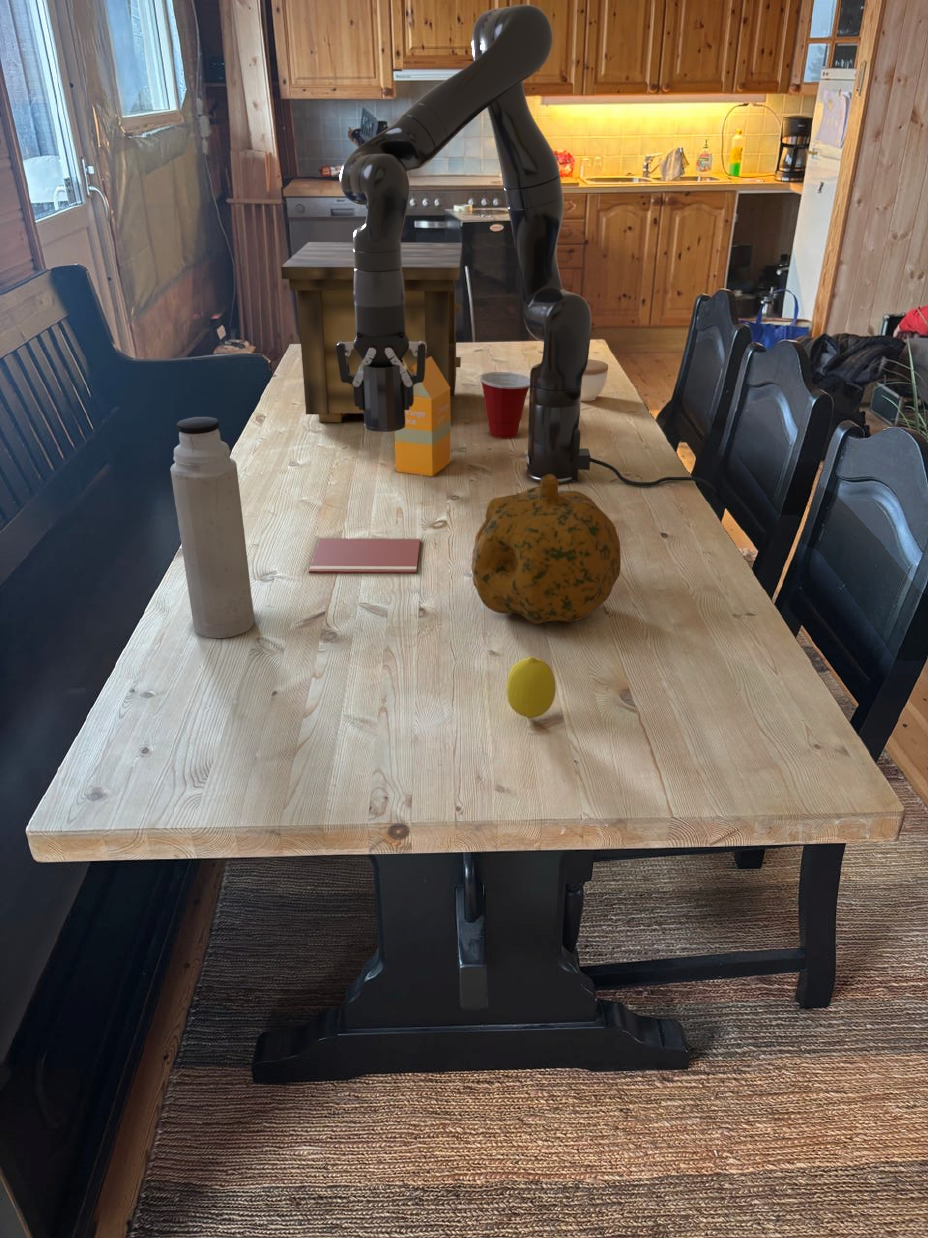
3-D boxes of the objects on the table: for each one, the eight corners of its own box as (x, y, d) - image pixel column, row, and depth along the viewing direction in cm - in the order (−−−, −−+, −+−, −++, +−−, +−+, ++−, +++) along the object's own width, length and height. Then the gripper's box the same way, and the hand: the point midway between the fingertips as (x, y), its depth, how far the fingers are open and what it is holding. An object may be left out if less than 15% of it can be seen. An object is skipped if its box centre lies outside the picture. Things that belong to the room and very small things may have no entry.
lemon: (502, 705, 115) (504, 646, 111) (549, 703, 115) (552, 644, 111) (508, 732, 110) (510, 671, 106) (557, 730, 110) (561, 669, 106)
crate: (318, 384, 239) (308, 242, 224) (461, 385, 239) (461, 242, 223) (294, 428, 208) (281, 266, 193) (459, 429, 208) (459, 267, 192)
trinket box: (550, 397, 230) (552, 356, 225) (580, 388, 236) (583, 349, 232) (585, 406, 223) (587, 365, 218) (615, 398, 229) (618, 357, 225)
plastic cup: (526, 444, 199) (528, 385, 193) (474, 440, 201) (474, 382, 195) (534, 428, 209) (536, 371, 203) (484, 425, 210) (484, 369, 205)
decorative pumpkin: (591, 560, 148) (597, 435, 137) (634, 637, 131) (646, 502, 119) (459, 574, 145) (454, 449, 134) (486, 656, 128) (483, 519, 117)
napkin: (420, 540, 157) (420, 538, 156) (416, 573, 146) (416, 571, 146) (319, 540, 157) (319, 538, 156) (308, 572, 146) (308, 570, 146)
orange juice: (395, 471, 185) (391, 364, 176) (414, 456, 192) (412, 353, 183) (433, 476, 182) (431, 368, 173) (451, 461, 190) (451, 357, 180)
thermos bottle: (214, 606, 137) (187, 408, 123) (265, 615, 134) (243, 414, 121) (182, 632, 130) (150, 426, 117) (234, 642, 128) (208, 433, 114)
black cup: (407, 419, 159) (404, 357, 154) (404, 432, 153) (401, 367, 148) (367, 419, 159) (363, 357, 154) (362, 432, 153) (359, 368, 149)
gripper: (428, 294, 150) (431, 402, 158) (335, 295, 150) (342, 402, 158) (426, 304, 144) (428, 415, 151) (328, 304, 144) (335, 415, 152)
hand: (384, 408), depth 155 cm, fingers closed on black cup, 6 cm apart
